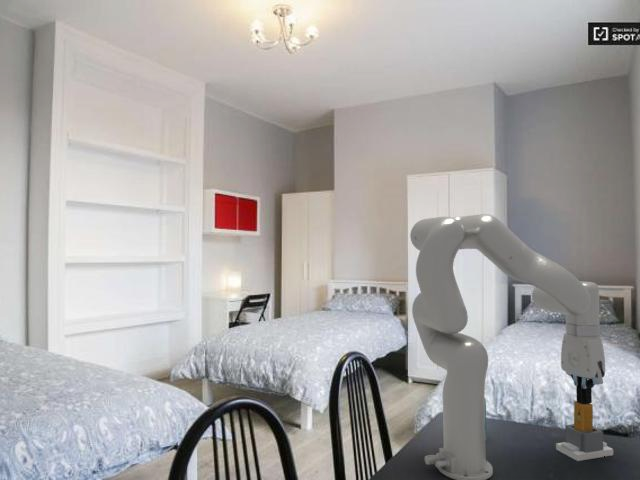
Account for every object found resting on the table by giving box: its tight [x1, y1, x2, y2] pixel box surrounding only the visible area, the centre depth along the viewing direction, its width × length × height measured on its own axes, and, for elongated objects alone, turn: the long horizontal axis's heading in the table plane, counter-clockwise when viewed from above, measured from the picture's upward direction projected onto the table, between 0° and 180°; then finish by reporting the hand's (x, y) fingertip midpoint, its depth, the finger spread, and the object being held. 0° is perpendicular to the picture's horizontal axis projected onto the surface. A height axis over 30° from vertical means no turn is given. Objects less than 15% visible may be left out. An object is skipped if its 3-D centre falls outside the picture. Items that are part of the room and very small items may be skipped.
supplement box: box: [573, 400, 594, 433], centre depth 122 cm, size 3×3×10 cm
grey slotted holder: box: [555, 423, 614, 462], centre depth 122 cm, size 11×7×6 cm, turn 106°
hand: (584, 402), depth 122 cm, fingers closed
